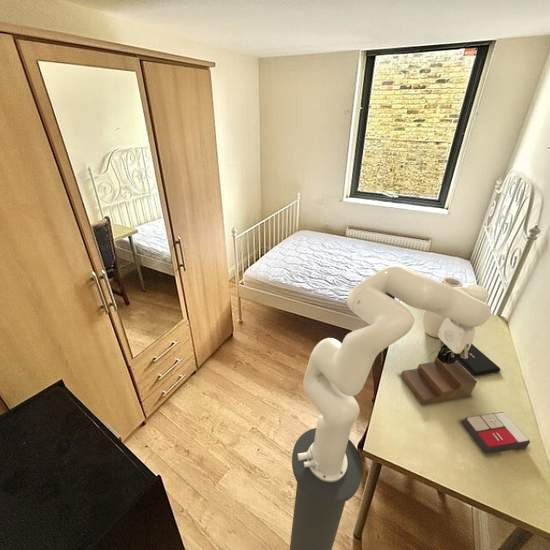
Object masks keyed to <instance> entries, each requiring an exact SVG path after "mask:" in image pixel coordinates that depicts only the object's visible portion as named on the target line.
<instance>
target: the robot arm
mask: <svg viewBox="0 0 550 550" xmlns="http://www.w3.org/2000/svg"><path fill="white" fill-rule="evenodd" d="M386 293H387V294H386ZM388 294H389V295H390V296H389V295H388ZM391 296H392V297H391ZM393 297H394V298H393ZM488 298H489V291H488V289H486V288H485V287H484V286H481V285H480V284H476V283H465V284H463V286H462V287H451V286H449V285H447V284H445V283H442V281H438V280H436V279H434V278H431V277H429V276H426V275H424V274H422V273H419V272H417V270H413V269H412V268H409V267H408V266H406V265H404V264H400V263H399V264H398V263H396V264H395V263H394V264H391V265H389V266H386V267H384V268H382V269H380V270H378V271H377V272H375V273H373V274H372V275H370V276H368V277H367V278H365V279H364V280H362V281H360V282H358V283H357V284H356V285H354V286H353V288H352V289H350V291H349V293H348V294H347V298H346V303H347V308H349V310H350V311H351V312H352V313H354V314H355V315H356V316H358V317H359V318H360V319H361V320H363V321H364V322H366V323H367V324H368V325H367V326H365V327H361V328H358V329H353V330H352V331H350V332H349V333H347V334H346V335H345V337H344V338H343V340H342V342H341V341H340V340H338V339H336V338H333V337H327V338H324V339H322V340H320V341H319V342H318V343H316V345H315V346H314V348H313V349H312V351H311V353H310V356H309V359H308V362H307V365H306V366H307V367H306V370H305V373H304V376H303V381H302V389H303V391H304V393H305V394H306V395H307V397H308V399H310V401H311V402H312V403H313V405H314V406H315V407H316V409H317V411H319V413H320V415H319V417H318V418H317V421H316V425H315V428H316V433H315V440H314V443H313V444H312V445H311V446H310V448H309V450H308V451H307V452H305V453H299V454H298V460H299V461H301V460H304V459H307V462H304V467H309V468H310V470H311V471H312V473H313V474H314V475H315V476H316V477H317V478H319V479H320V480H323V481H326V482H335V481H338V480H340V479H341V478H342V477H343V476H344V475H345V473H346V470H347V465H348V462H347V457H346V454H345V452H346V448H347V444H348V439H349V440H350V435H351V432H352V429H353V426H354V424H355V423H356V421H357V419H358V418H359V416H360V411H361V410H360V405H359V403H358V401H357V399H356V398H355V397H354V396H357V395H358V394H359V393H360V392H361V391H362V390H363V388H364V386H365V384H366V381H367V379H368V376H369V375H370V372H371V369H372V367H373V364H374V362H375V360H376V359H377V356H378V355H379V354H380V353H382V351H384V350H385V349H387V348H388V347H390V346H391V345H393V344H394V343H396V342H397V341H399V340H401V339H402V338H403V337H405V336H406V335H407V334H408V333H410V331H411V330H412V328H413V327H414V324H415V318H414V315H413V313H412V312H411V310H410V309H408V308H407V307H406V306H405V305H407V306H409V307H410V308H414V309H417V310H420V311H425V310H426V311H430V312H434V313H436V314H438V315H441V316H443V317H446V319H445V320H444V322H443V323H442V325H441V327H440V329H439V332H438V337H437V338H439V340H440V349H439V351H442V349H443V348H447V347H449V348H450V349H451V350H452V352H451V355H449V356H448V358H447V361H446V364H453V363H455V361H457V360H456V359H457V357H460V358H463V359H467V358H468V350H469V348H470V346H471V344H473V341H474V338H475V333H476V327H477V328H478V327H481V326H482V325H484V324H486V323H487V322H488V320H489V319H490V317H491V314H492V308H491V307H490V305H489V304H488V303H486V302H487V300H488ZM396 299H397V300H399V301H401V302H402V303H400V302H399V301H397V300H396ZM403 304H405V305H403ZM461 352H462V353H461ZM323 477H324V478H323Z"/></svg>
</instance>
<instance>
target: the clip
mask: <svg viewBox="0 0 550 550" xmlns="http://www.w3.org/2000/svg"><path fill="white" fill-rule="evenodd" d="M451 352H452V350H451V349H450V348H449V347H447V348H443V349H442V351H440V350H438V352H437V355H436V357H437V358H438V359H439V360H440V361H441V362H442V363H446V361H447V358H448V356H449V355H451ZM456 361H458V360H457V359H456Z"/></svg>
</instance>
